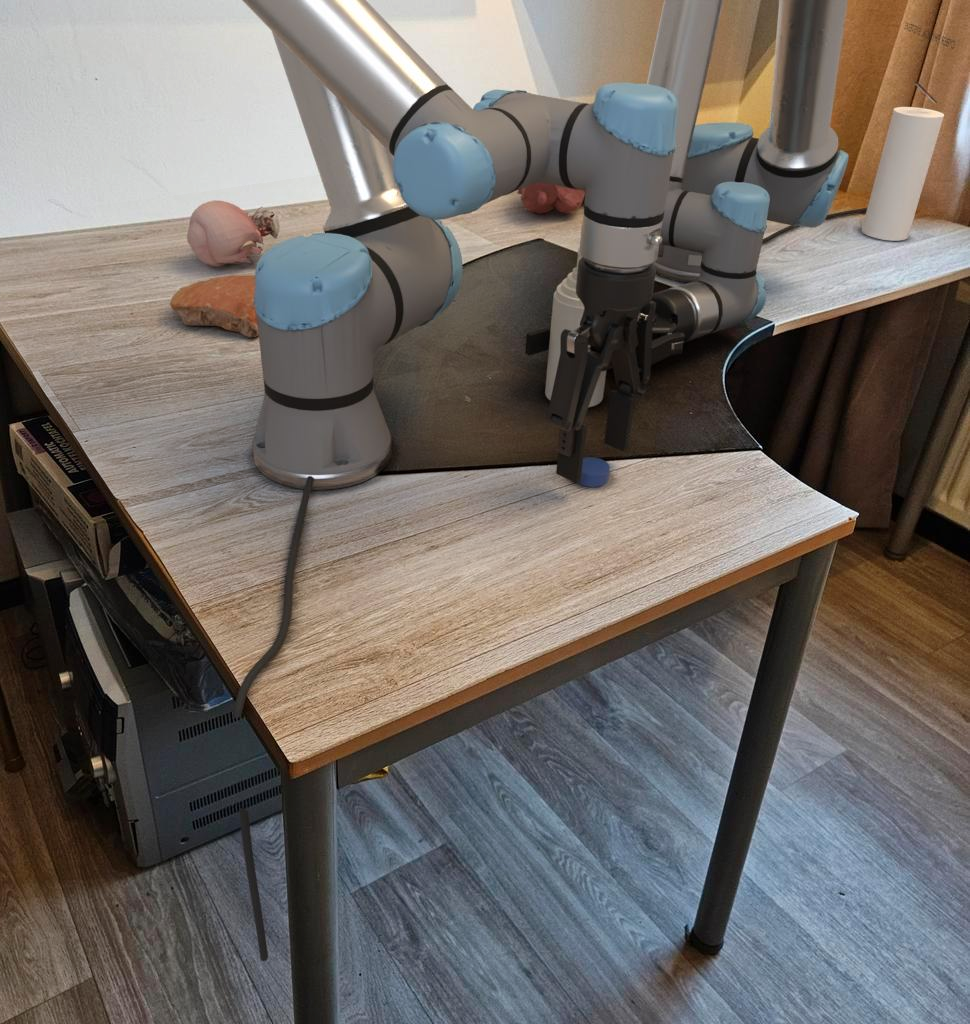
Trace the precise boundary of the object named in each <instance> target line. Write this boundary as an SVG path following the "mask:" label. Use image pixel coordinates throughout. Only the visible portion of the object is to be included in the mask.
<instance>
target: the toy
mask: <svg viewBox="0 0 970 1024" xmlns="http://www.w3.org/2000/svg"><path fill="white" fill-rule="evenodd" d="M274 216H276V215H275V213H274V212H273V211H269V210H268V209H265V208H264V207H263V206H261V207H259V208H258V209H257V210H256V211H255V212H254V214H251V215H249V211H246V212H245V210H243V209H242V208H240V207H239V205H235V204H233V203H231V202H228V201H224V200H211V201H207V202H204V203H202V204H200V205H199V206H197V207H196V209H194V211H193V212H192V214H191V215H190V218H189V225H188V230H187V233H186V240H187V243H188V245H189V246H190V248H191V250H192V253H193V254H194V255H195V256H196V258H198V260H199V261H201V262H203V263H204V264H205V265H210V266H213V267H222V266H224V265H226V264H238V265H244V264H243V262H244V263H249V264H251V265H252V264H253V260H252V259H251V258H249V257H248V256H251V255H254V254H256V255H259V256H260V255H261V254H262V252H263V251H264V249H263V247H261V246H258V245H257V243H258V244H260V245H261V244H262V245H263V246H265V244H264V237H267V236H269V235H270V236H272V237H273V238H274V239H277V238H278V236H279V234H280V231H281V225H280V221H279V218H278V217H274Z"/></svg>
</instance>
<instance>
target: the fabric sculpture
mask: <svg viewBox="0 0 970 1024" xmlns="http://www.w3.org/2000/svg"><path fill="white" fill-rule="evenodd" d="M517 194H518V195H520V200H521V202H522V203H523V207H524V209H525V210H529V211H530V212H532V213H535V214H546V213H549V212H551V211H552V210H553V209H554V208H555V209H556V210H557V211H559V212H560V213H564V214H569V213H573V212H575V211H578V209H579V208H581V206H582V203H584V200H585V191H584V190H581V189H572V188H568V187H563V186H558V185H553V184H548V183H542V182H535V183H533V184H531V185H529V186H526V187H524V188H522V189H519V190H517Z"/></svg>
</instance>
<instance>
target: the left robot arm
mask: <svg viewBox="0 0 970 1024" xmlns="http://www.w3.org/2000/svg"><path fill="white" fill-rule="evenodd" d="M241 1H242V2H243V3H244V4H245V5H246V6H247V8H249V9H250V10H251V11H252V12H253V13H254V14H255V15H256V17H258V18H259V20H260V21H262V23H264V25H265V26H267V28H268V29H269V30H270V31H271V34H272V36H273V40H274V43H275V45H276V46H275V47H276V48H277V51H278V55H279V58H280V60H281V64H282V66H283V69H284V72H285V76H286V79H287V82H288V84H289V88H290V90H291V93H292V96H293V99H294V102H295V106H296V109H297V111H298V114H299V117H300V121H301V123H302V126H303V129H304V132H305V134H306V138H307V141H308V144H309V147H310V151H311V153H312V156H313V159H314V162H315V165H316V168H317V172H318V174H319V176H320V179H321V183H322V186H323V188H324V192H325V195H326V198H327V201H328V204H329V207H330V209H329V213H328V216H327V218H326V220H325V222H324V225H323V226H322V229H323V232H319V233H312V234H311V235H309V236H304V235H298V236H295V237H291V238H288V239H286V240H283V241H280V242H278V243H277V244H275V245H273V246H272V247H270V248H269V249H268V250H266V251H265V252H264V253H263V255H262V256H261V257H260V258H259V260H258V262H257V264H256V267H255V271H254V275H255V294H254V306H255V309H256V314H257V324H258V333H259V334H258V340H259V342H258V343H259V349H260V351H259V352H260V359H261V369H262V378H263V388H264V390H263V391H264V396H263V400H262V404H261V408H260V412H259V415H258V419H257V423H256V427H255V430H254V434H253V438H252V442H251V443H252V445H251V446H252V455H253V460H254V464H255V467H256V468H257V470H258V471H259V472H260V473H261V474H262V475H263V476H265V477H266V478H268V479H269V480H271V481H273V482H275V483H278V484H280V485H283V486H286V487H290V488H295V489H301V490H303V493H302V497H301V500H300V504H299V509H298V512H297V516H296V520H295V525H294V531H293V535H292V539H291V544H290V550H289V554H288V559H287V560H288V561H287V565H286V566H287V567H286V572H285V578H284V587H283V590H284V591H283V610H282V618H281V623H280V627H279V630H278V633H277V635H276V638H275V640H274V642H273V644H272V645H271V646H270V648H269V649H268V650H267V651H266V652H265V653H264V655H263V656H261V657H260V659H258V661H257V662H255V664H254V665H253V666H252V667H251V669H250V670H249V671H248V673H247V674H246V675H245V677H244V679H243V681H242V682H241V684H240V687H239V689H238V692H237V694H236V698H235V700H234V701H235V702H234V705H233V710H232V718H234V719H239V718H240V717H241V716H242V715H243V710H244V706H245V702H246V699H247V697H248V695H249V694H248V693H249V691H250V688H251V687H252V685H253V683H254V681H255V679H256V678H257V677H258V676H259V674H260V673H261V672H262V671H263V670H264V668H265V667H266V666H268V664H269V663H271V661H273V659H274V658H275V657H276V655H278V653H279V651H280V650H281V648H282V647H283V645H284V643H285V640H286V637H287V634H288V631H289V627H290V625H291V624H290V623H291V618H292V612H293V611H292V609H293V587H294V586H293V585H294V577H295V570H296V569H295V568H296V563H297V557H298V551H299V545H300V540H301V535H302V532H303V525H304V522H305V516H306V513H307V508H308V504H309V500H310V496H311V492H312V491H314V490H315V491H323V490H327V491H328V490H337V489H342V488H348V487H351V486H355V485H358V484H361V483H363V482H366V481H368V480H370V479H373V478H374V477H375V476H377V475H378V474H380V473H381V472H382V471H383V470H384V469H385V468H386V467H387V466H388V464H389V463H390V461H391V458H392V434H391V431H390V430H389V427H388V424H387V422H386V419H385V417H384V413H383V411H382V408H381V406H380V403H379V400H378V398H377V395H376V393H375V385H374V353H375V351H376V350H378V349H380V348H381V347H383V346H385V345H387V344H389V343H390V342H393V341H394V340H396V339H398V338H400V337H402V336H403V335H405V334H408V333H410V332H411V331H412V330H414V329H416V328H419V327H423V326H425V325H427V324H429V323H430V322H431V321H433V320H434V319H435V318H437V316H438V315H439V314H441V313H443V312H444V311H445V310H446V309H447V308H448V307H449V306H450V305H451V304H452V303H453V301H454V300H455V299H456V296H457V294H458V292H459V291H460V288H461V283H462V279H463V269H464V267H463V256H462V252H461V247H460V245H459V243H458V241H457V239H456V237H455V235H454V233H453V231H451V229H450V228H449V226H445V225H443V224H442V220H448V219H451V218H454V217H458V216H461V215H462V216H463V215H467V214H471V213H472V212H473V213H474V212H476V211H478V210H479V209H480V208H481V207H483V206H484V205H486V204H489V203H490V202H493V201H495V200H497V199H499V198H501V197H504V196H507V195H510V194H512V193H515V192H518V190H519V189H522V188H524V187H526V186H529V185H531V184H533V183H535V182H542V183H548V184H553V185H558V186H563V187H568V188H572V189H581V190H584V191H585V195H584V207H583V213H582V222H581V232H580V239H579V247H578V249H579V252H580V254H581V255H582V256H583V257H582V258H581V259H580V260H579V263H578V272H577V282H576V294H577V296H578V298H579V299H580V300H581V302H582V303H583V305H584V312H583V316H582V318H581V321H580V327H579V328H577V329H576V330H574V331H570V330H567V329H564V330H563V331H562V333H561V337H560V357H559V362H558V367H557V372H556V376H555V381H554V386H553V390H552V395H551V400H549V404H548V405H549V406H548V409H547V415H546V423H547V424H549V425H552V426H554V427H556V428H559V431H558V442H557V460H556V469H555V474H556V475H558V476H560V477H562V478H564V479H566V480H568V481H570V482H573V483H575V484H579V483H578V482H579V481H581V473H582V464H583V458H584V454H585V447H586V446H585V445H586V438H587V429H588V427H587V426H586V425H584V424H583V423H584V420H585V419H586V415H587V412H588V409H589V408H590V407H589V404H590V401H591V398H592V396H593V393H594V390H595V387H596V384H597V382H598V379H599V376H600V373H601V370H602V368H603V367H606V366H607V365H608V364H609V361H610V358H611V360H612V366H613V368H612V370H613V376H614V381H615V387H616V388H617V389H612V390H611V391H610V394H609V395H610V396H609V402H608V410H607V416H606V417H607V418H606V426H605V434H604V441H603V443H604V445H607V446H610V447H612V448H615V449H616V450H619V451H621V452H626V451H627V450H629V444H630V438H631V431H632V424H633V417H634V416H633V415H634V409H635V403H636V396H637V397H640V398H644V397H645V396H646V394H647V391H648V389H647V387H644V386H642V384H644V385H648V383H649V382H650V381H651V371H652V369H651V368H652V365H651V350H652V326H653V319H654V314H655V310H656V302H654V301H651V299H652V294H653V293H654V287H655V282H656V281H655V279H656V274H657V273H656V267H655V266H654V264H653V263H654V262H655V261H656V260H657V257H658V250H659V245H660V244H661V243H662V237H661V230H662V221H663V218H664V209H665V203H666V197H667V191H668V185H669V179H670V173H671V167H672V161H673V155H674V152H675V148H676V141H675V140H676V128H677V117H678V101H677V98H676V96H675V95H674V94H673V93H672V92H671V91H669V90H668V89H665V88H663V87H659V86H655V85H650V84H647V83H642V82H641V83H633V82H627V81H626V82H621V81H619V82H610V83H606V84H604V85H601V86H600V87H599V88H598V89H597V91H596V92H595V97H594V101H593V102H592V103H587V102H580V101H576V100H575V101H574V100H568V99H564V98H563V99H562V98H559V97H558V98H557V97H553V96H552V97H551V96H548V95H547V96H546V95H540V94H535V93H531V92H528V91H527V90H522V89H516V90H505V89H492V90H489V91H487V92H485V93H484V94H483V95H482V96H481V98H480V99H479V100H480V101H478V102H476V103H475V104H474V106H473V108H472V107H471V106H470V104H468V103H467V102H466V101H465V100H464V99H463V98H462V97H461V96H460V95H459V94H458V93H457V92H456V91H455V90H454V89H453V88H452V87H451V86H449V84H448V83H447V82H446V81H445V80H444V79H443V78H442V77H441V76H440V75H439V74H438V73H437V72H436V71H435V70H434V69H433V68H432V67H431V66H430V65H429V63H427V61H425V60H424V58H422V56H421V55H420V54H419V53H417V51H416V50H415V49H414V48H413V47H412V46H411V45H410V44H409V43H408V42H407V41H406V40H405V39H404V38H403V37H402V36H401V35H400V34H399V32H397V31H396V30H395V28H394V27H392V25H391V24H390V23H388V21H386V20H385V18H384V17H382V15H381V14H380V13H379V12H378V11H377V10H376V9H375V8H374V7H373V6H372V5H371V4H370V3H369V2H368V1H367V0H241ZM589 350H591V351H593V352H595V353H598V354H601V356H600V357H598V356H595V355H593V354H590V353H588V351H589ZM638 368H641V371H640V370H638ZM238 811H239V812H238V813H239V814H238V815H239V822H240V832H241V841H242V849H243V855H244V864H245V869H246V870H245V871H246V877H247V883H248V888H249V895H250V900H251V906H252V912H253V913H252V914H253V918H254V924H255V930H256V937H257V944H258V951H259V958H260V961H262V962H265V961H267V960H268V959H269V953H268V946H267V945H268V944H267V937H266V931H265V923H264V918H263V910H262V905H261V898H260V892H259V886H258V880H257V879H258V878H257V872H256V865H255V859H254V851H253V846H252V845H253V842H252V835H251V825H250V816H249V810H247V809H244V808H241V807H238Z"/></svg>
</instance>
